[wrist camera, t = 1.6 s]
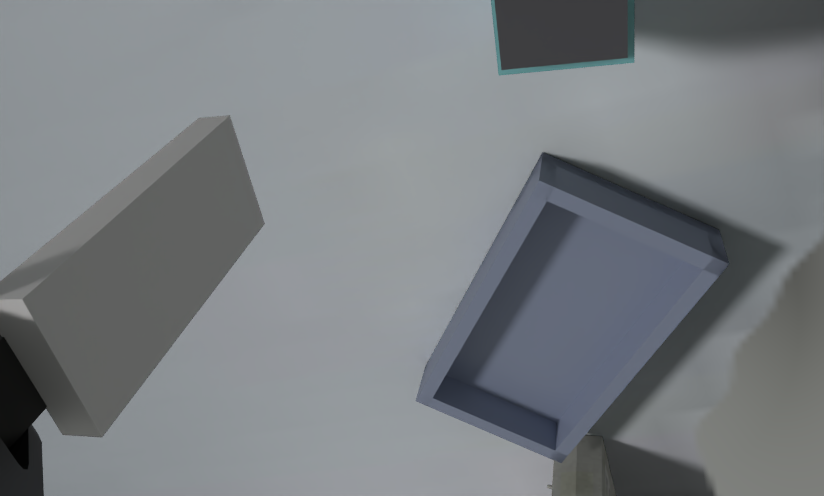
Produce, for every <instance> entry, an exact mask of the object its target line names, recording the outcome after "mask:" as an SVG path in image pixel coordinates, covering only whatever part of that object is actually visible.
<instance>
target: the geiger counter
mask: <svg viewBox="0 0 824 496" xmlns="http://www.w3.org/2000/svg"><path fill="white" fill-rule="evenodd" d="M547 488H549V489H552V496H616V493H615V488H614V484H613V480H612V476H611V471H610V467H609V463H608V459H607V454H606V450H605V446H604V441H603V437H602V436H592V435H585V436H584V437H583V438H582V439H581V441H580V442H579V443H578V444H577V445H576V447H575V448H574V449H573V450H572V451H571V453H570V454H569V455H568V456H567V457H566V458H565V460H564V461H563V462H562V463H559V462H557V461H555V460H554V466H553V482H552V485H547Z"/></svg>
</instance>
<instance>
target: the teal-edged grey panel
mask: <svg viewBox="0 0 824 496" xmlns="http://www.w3.org/2000/svg"><path fill="white" fill-rule="evenodd" d="M491 5H492V15H493V24H494V34H495V44H496V53H497V63H498V73H499V75H508V74H518V73H529V72H540V71H550V70H561V69H571V68H582V67H592V66H603V65H614V64H624V63H634V0H491Z"/></svg>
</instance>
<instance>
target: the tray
mask: <svg viewBox="0 0 824 496" xmlns="http://www.w3.org/2000/svg"><path fill="white" fill-rule="evenodd" d="M728 265H729V261H728V258H727V255H726V251H725V248H724V244H723V241H722V238H721V234H720V231H719V230H718V229H716V228H714V227H711V226H709V225H707V224H704V223H702V222H700V221H698V220H695V219H693V218H691V217H689V216H686V215H684V214H682V213H680V212H677V211H675V210H673V209H670V208H668V207H666V206H664V205H661V204H659V203H657V202H655V201H652V200H650V199H648V198H645V197H643V196H641V195H639V194H636V193H634V192H632V191H630V190H627V189H625V188H623V187H620V186H618V185H616V184H614V183H611V182H609V181H607V180H605V179H602V178H600V177H598V176H595V175H593V174H591V173H589V172H586V171H584V170H582V169H580V168H577V167H575V166H573V165H570V164H568V163H566V162H564V161H561V160H559V159H557V158H555V157H552V156H550V155H548V154H545V153H542V155H541V156H540V158H539V160H538V162H537V164H536V166H535V167H534V169H533V171H532V173H531V175H530V176H529V178H528V180H527V182H526V184H525V186H524V187H523V189H522V191H521V193H520V195H519V197H518V198H517V200H516V202H515V204H514V206H513V208H512V209H511V211H510V213H509V215H508V217H507V219H506V220H505V222H504V224H503V226H502V228H501V229H500V231H499V233H498V235H497V237H496V239H495V240H494V242H493V244H492V246H491V248H490V250H489V251H488V253H487V255H486V257H485V259H484V261H483V262H482V264H481V266H480V268H479V270H478V272H477V273H476V275H475V277H474V279H473V281H472V282H471V284H470V286H469V288H468V290H467V292H466V293H465V295H464V297H463V299H462V301H461V303H460V304H459V306H458V308H457V310H456V312H455V314H454V315H453V317H452V319H451V321H450V323H449V325H448V326H447V328H446V330H445V332H444V334H443V336H442V337H441V339H440V341H439V343H438V345H437V346H436V348H435V350H434V352H433V354H432V356H431V357H430V359H429V361H428V363H427V365H426V367H425V370H424V373H423V377H422V380H421V384H420V387H419V391H418V394H417V398H416V401H417V402H419V403H422V404H424V405H426V406H429V407H431V408H433V409H436V410H438V411H440V412H443V413H445V414H447V415H450V416H452V417H454V418H457V419H459V420H461V421H464V422H466V423H468V424H471V425H473V426H475V427H478V428H480V429H482V430H485V431H487V432H489V433H492V434H494V435H496V436H499V437H501V438H503V439H506V440H508V441H510V442H513V443H515V444H517V445H520V446H522V447H524V448H527V449H529V450H531V451H534V452H536V453H538V454H541V455H543V456H545V457H548V458H550V459H552V460H555V461H557V462H559V463H562V462H563V461H564V460H565V458H566V457H567V456H568V455H569V454H570V453H571V451H572V450H573V449H574V448H575V447H576V445H577V444H578V443H579V442H580V441H581V439H582V438H583V437H584V436H585V435H586V434H587V432H588V431H589V430H590V429H591V428H592V426H593V425H594V424H595V423H596V422H597V420H598V419H599V418H600V417H601V416H602V415H603V413H604V412H605V411H606V410H607V409H608V407H609V406H610V405H611V404H612V403H613V401H614V400H615V399H616V398H617V397H618V396H619V394H620V393H621V392H622V391H623V390H624V388H625V387H626V386H627V385H628V384H629V382H630V381H631V380H632V379H633V378H634V377H635V375H636V374H637V373H638V372H639V371H640V369H641V368H642V367H643V366H644V365H645V364H646V362H647V361H648V360H649V359H650V358H651V356H652V355H653V354H654V353H655V352H656V350H657V349H658V348H659V347H660V346H661V345H662V343H663V342H664V341H665V340H666V339H667V337H668V336H669V335H670V334H671V333H672V331H673V330H674V329H675V328H676V327H677V326H678V324H679V323H680V322H681V321H682V320H683V318H684V317H685V316H686V315H687V314H688V312H689V311H690V310H691V309H692V308H693V307H694V305H695V304H696V303H697V302H698V301H699V299H700V298H701V297H702V296H703V295H704V293H705V292H706V291H707V290H708V289H709V288H710V286H711V285H712V284H713V283H714V282H715V280H716V279H717V278H718V277H719V276H720V275H721V273H722V272H723V271H724V270H725V269H726V267H727V266H728Z"/></svg>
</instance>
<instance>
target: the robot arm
mask: <svg viewBox="0 0 824 496" xmlns="http://www.w3.org/2000/svg"><path fill="white" fill-rule="evenodd" d="M264 224H265V223H264V220H263V217H262V214H261V211H260V208H259V205H258V201H257V198H256V195H255V192H254V189H253V186H252V183H251V180H250V177H249V174H248V170H247V167H246V164H245V161H244V158H243V155H242V152H241V149H240V146H239V143H238V140H237V136H236V133H235V130H234V127H233V124H232V121H231V118H230V115H229V116H217V117H205V118H198V119H197V120H196V121H195V122H193V123H192V124H191V125H190V126H189V127H187V128H186V129H185V130H184V131H183V132H181V133H180V134H179V135H178V136H176V137H175V138H174V139H173V140H172V141H170V142H169V143H168V144H167V145H166V146H164V147H163V148H162V149H161V150H159V151H158V152H157V153H156V154H155V155H153V156H152V157H151V158H150V159H149V160H147V161H146V162H145V163H144V164H142V165H141V166H140V167H139V168H138V169H136V170H135V171H134V172H133V173H131V174H130V175H129V176H128V177H127V178H125V179H124V180H123V181H122V182H121V183H119V184H118V185H117V186H116V187H114V188H113V189H112V190H111V191H110V192H108V193H107V194H106V195H105V196H104V197H102V198H101V199H100V200H99V201H97V202H96V203H95V204H94V205H93V206H91V207H90V208H89V209H88V210H87V211H85V212H84V213H83V214H82V215H80V216H79V217H78V218H77V219H76V220H74V221H73V222H72V223H71V224H70V225H68V226H67V227H66V228H65V229H63V230H62V231H61V232H60V233H59V234H57V235H56V236H55V237H54V238H53V239H51V240H50V241H49V242H48V243H46V244H45V245H44V246H43V247H42V248H40V249H39V250H38V251H37V252H36V253H34V254H33V255H32V256H31V257H29V258H28V259H27V260H26V261H25V262H23V263H22V264H21V265H20V266H18V267H17V268H16V269H15V270H14V271H12V272H11V273H10V274H9V275H8V276H6V277H5V278H4V279H3V280H1V281H0V496H44V492H43V466H42V442H41V440H40V437H39V435H38V433H37V432H36V430H35V429H34V427H33V426H32V423H33V422H34V421H35V420H36V419H37V418H38V416H39V415H40V414H41V413H42V412H43V411H44V410H45V409H47V411H48V412H49V414H50V415H51V417H52V419H53V420H54V422H55V423H56V425H57V427H58V428H59V430H60V432H61V433H62V435H72V436H88V437H103V436H104V434H105V433H106V432H107V430H108V429H109V428H110V426H111V425H112V424H113V422H114V421H115V420H116V418H117V417H118V416H119V415H120V413H121V412H122V411H123V409H124V408H125V407H126V405H127V404H128V403H129V401H130V400H131V399H132V397H133V396H134V395H135V393H136V392H137V391H138V390H139V388H140V387H141V386H142V384H143V383H144V382H145V380H146V379H147V378H148V376H149V375H150V374H151V372H152V371H153V370H154V369H155V367H156V366H157V365H158V363H159V362H160V361H161V359H162V358H163V357H164V355H165V354H166V353H167V351H168V350H169V349H170V348H171V346H172V345H173V344H174V342H175V341H176V340H177V338H178V337H179V336H180V334H181V333H182V332H183V330H184V329H185V328H186V326H187V325H188V324H189V323H190V321H191V320H192V319H193V317H194V316H195V315H196V313H197V312H198V311H199V309H200V308H201V307H202V305H203V304H204V303H205V302H206V300H207V299H208V298H209V296H210V295H211V294H212V292H213V291H214V290H215V288H216V287H217V286H218V284H219V283H220V282H221V280H222V279H223V278H224V277H225V275H226V274H227V273H228V271H229V270H230V269H231V267H232V266H233V265H234V263H235V262H236V261H237V259H238V258H239V257H240V256H241V254H242V253H243V252H244V250H245V249H246V248H247V246H248V245H249V244H250V242H251V241H252V240H253V238H254V237H255V236H256V235H257V233H258V232H259V231H260V229H261V228H262V227H263V225H264Z"/></svg>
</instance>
